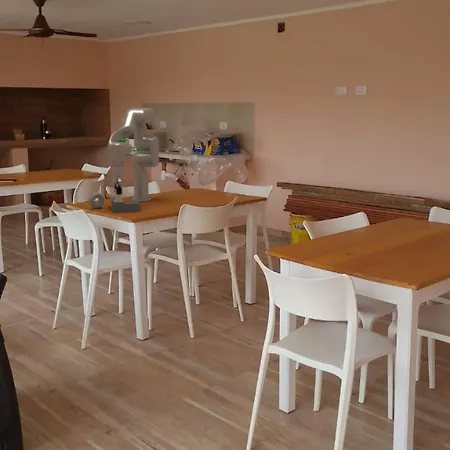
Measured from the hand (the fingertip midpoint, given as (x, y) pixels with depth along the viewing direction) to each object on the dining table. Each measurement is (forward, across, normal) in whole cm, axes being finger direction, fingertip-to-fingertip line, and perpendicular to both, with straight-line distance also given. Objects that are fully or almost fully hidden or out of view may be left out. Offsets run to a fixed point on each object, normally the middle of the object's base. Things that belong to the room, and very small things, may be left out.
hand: (118, 193), depth 363 cm
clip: (+4, -9, -4) cm, 11 cm away
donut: (+11, -11, -12) cm, 20 cm away
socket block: (+10, 0, +4) cm, 11 cm away
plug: (+11, 0, 0) cm, 11 cm away
